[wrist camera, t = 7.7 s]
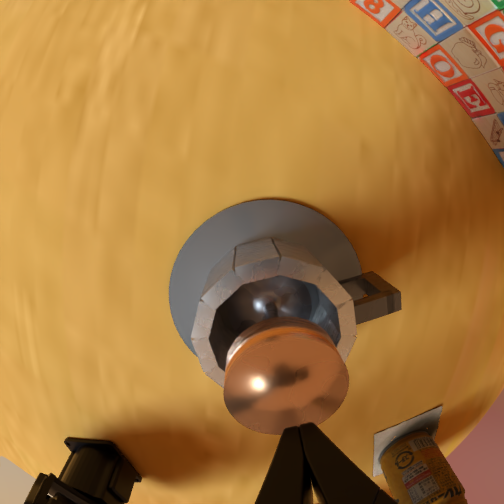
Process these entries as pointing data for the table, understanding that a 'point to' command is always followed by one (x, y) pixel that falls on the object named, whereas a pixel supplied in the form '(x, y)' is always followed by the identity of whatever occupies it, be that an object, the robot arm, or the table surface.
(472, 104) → the stack of blocks
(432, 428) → the condiment
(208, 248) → the coaster
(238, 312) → the plunger
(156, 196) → the table surface
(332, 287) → the carafe
